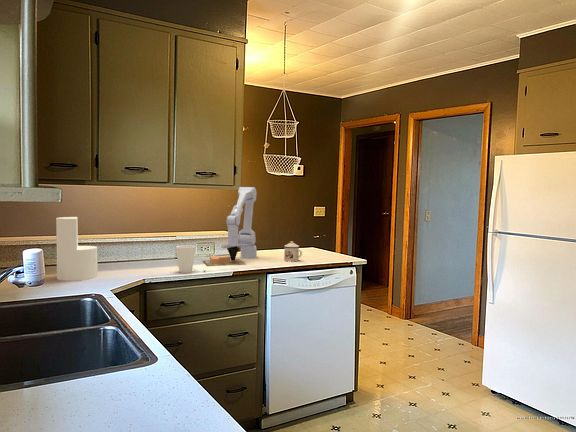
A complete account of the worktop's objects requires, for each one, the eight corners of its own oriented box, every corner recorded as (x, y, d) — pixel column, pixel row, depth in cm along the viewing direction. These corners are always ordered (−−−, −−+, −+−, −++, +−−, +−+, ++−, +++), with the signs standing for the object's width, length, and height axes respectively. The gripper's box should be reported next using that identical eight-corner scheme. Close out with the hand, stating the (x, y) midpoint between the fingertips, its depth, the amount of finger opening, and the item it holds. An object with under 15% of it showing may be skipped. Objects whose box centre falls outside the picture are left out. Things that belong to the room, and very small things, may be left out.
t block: (228, 260, 259) (228, 255, 259) (231, 263, 247) (231, 258, 247) (209, 261, 256) (209, 255, 255) (212, 264, 244) (212, 258, 244)
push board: (238, 261, 264) (238, 259, 264) (247, 266, 245) (247, 264, 245) (201, 262, 257) (201, 260, 257) (206, 268, 238) (206, 266, 238)
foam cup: (198, 270, 230) (198, 245, 230) (188, 274, 222) (188, 248, 221) (182, 269, 233) (182, 245, 233) (172, 272, 225) (172, 247, 224)
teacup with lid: (280, 260, 268) (281, 241, 268) (290, 259, 276) (290, 240, 275) (296, 262, 261) (297, 243, 260) (305, 261, 268) (306, 241, 268)
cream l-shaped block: (55, 281, 199) (54, 219, 197) (58, 275, 214) (57, 216, 213) (97, 279, 205) (97, 218, 204) (97, 272, 221) (96, 216, 220)
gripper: (239, 235, 260) (239, 258, 261) (218, 236, 250) (218, 260, 251) (246, 236, 255) (246, 259, 255) (225, 237, 245) (225, 262, 246)
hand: (232, 260), depth 253 cm, fingers closed
